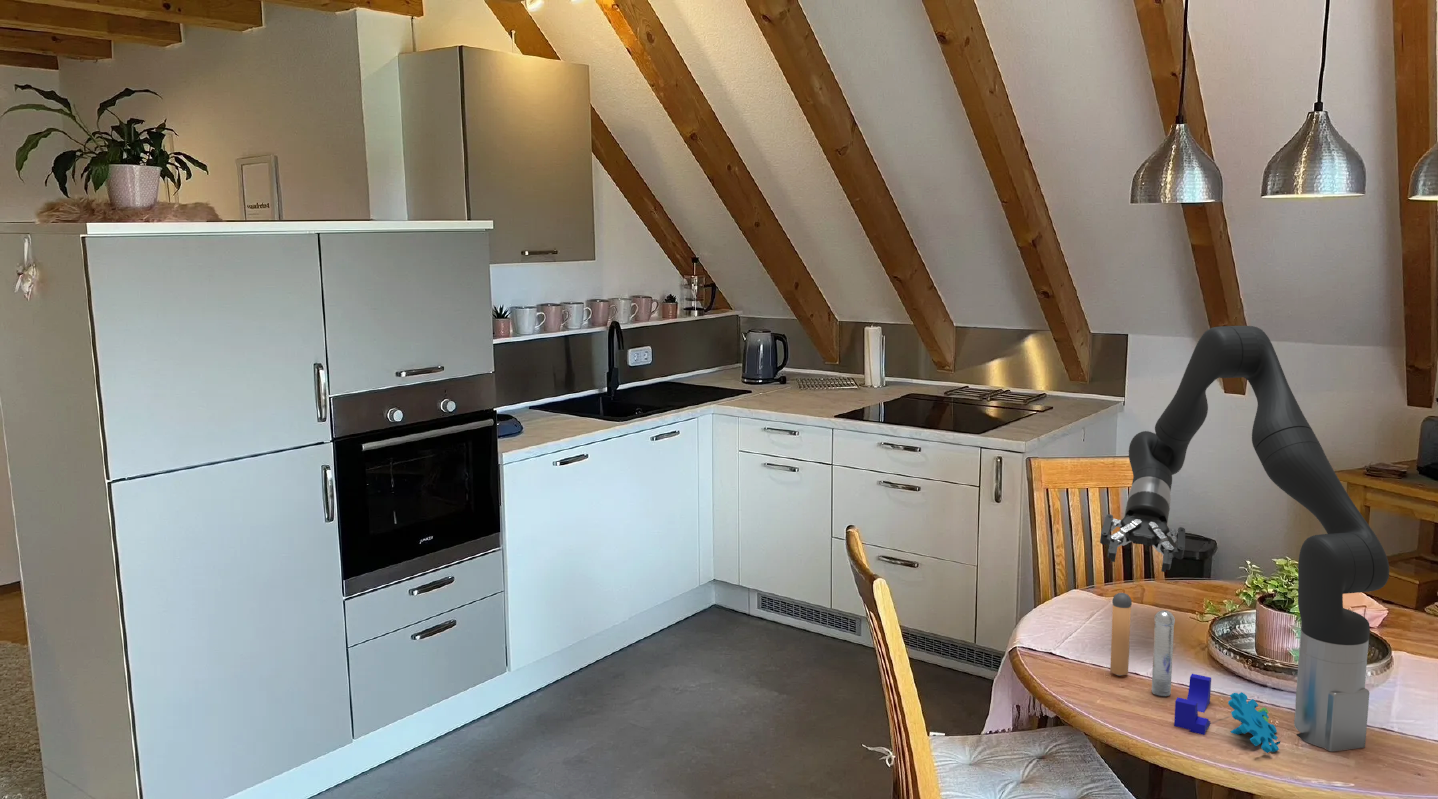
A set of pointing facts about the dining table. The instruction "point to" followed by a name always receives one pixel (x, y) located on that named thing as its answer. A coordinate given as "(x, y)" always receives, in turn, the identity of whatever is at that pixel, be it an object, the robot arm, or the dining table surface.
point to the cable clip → (1194, 705)
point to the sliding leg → (1120, 634)
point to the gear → (1253, 722)
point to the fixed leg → (1163, 653)
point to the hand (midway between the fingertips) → (1138, 563)
